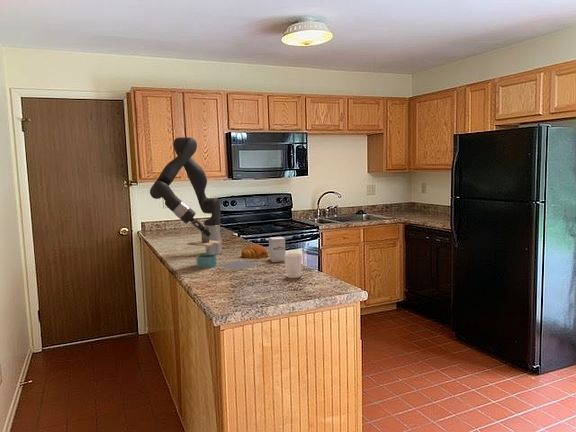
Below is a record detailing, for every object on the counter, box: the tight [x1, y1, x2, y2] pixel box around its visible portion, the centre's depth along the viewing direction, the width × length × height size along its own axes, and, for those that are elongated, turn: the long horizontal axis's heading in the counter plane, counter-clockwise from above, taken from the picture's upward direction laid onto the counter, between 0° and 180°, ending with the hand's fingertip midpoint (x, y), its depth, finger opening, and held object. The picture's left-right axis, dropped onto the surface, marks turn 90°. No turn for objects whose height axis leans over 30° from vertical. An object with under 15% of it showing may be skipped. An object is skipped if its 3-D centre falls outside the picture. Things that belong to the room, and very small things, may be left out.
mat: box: [217, 260, 261, 270], centre depth 230 cm, size 16×16×1 cm
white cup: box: [284, 252, 303, 279], centre depth 204 cm, size 8×8×10 cm
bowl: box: [195, 253, 218, 269], centre depth 231 cm, size 10×10×6 cm
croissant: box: [240, 244, 269, 259], centre depth 253 cm, size 14×16×8 cm
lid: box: [186, 225, 225, 247], centre depth 229 cm, size 13×13×9 cm
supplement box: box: [268, 236, 286, 263], centre depth 239 cm, size 7×7×13 cm
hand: (209, 234), depth 230 cm, fingers closed on lid, 3 cm apart
